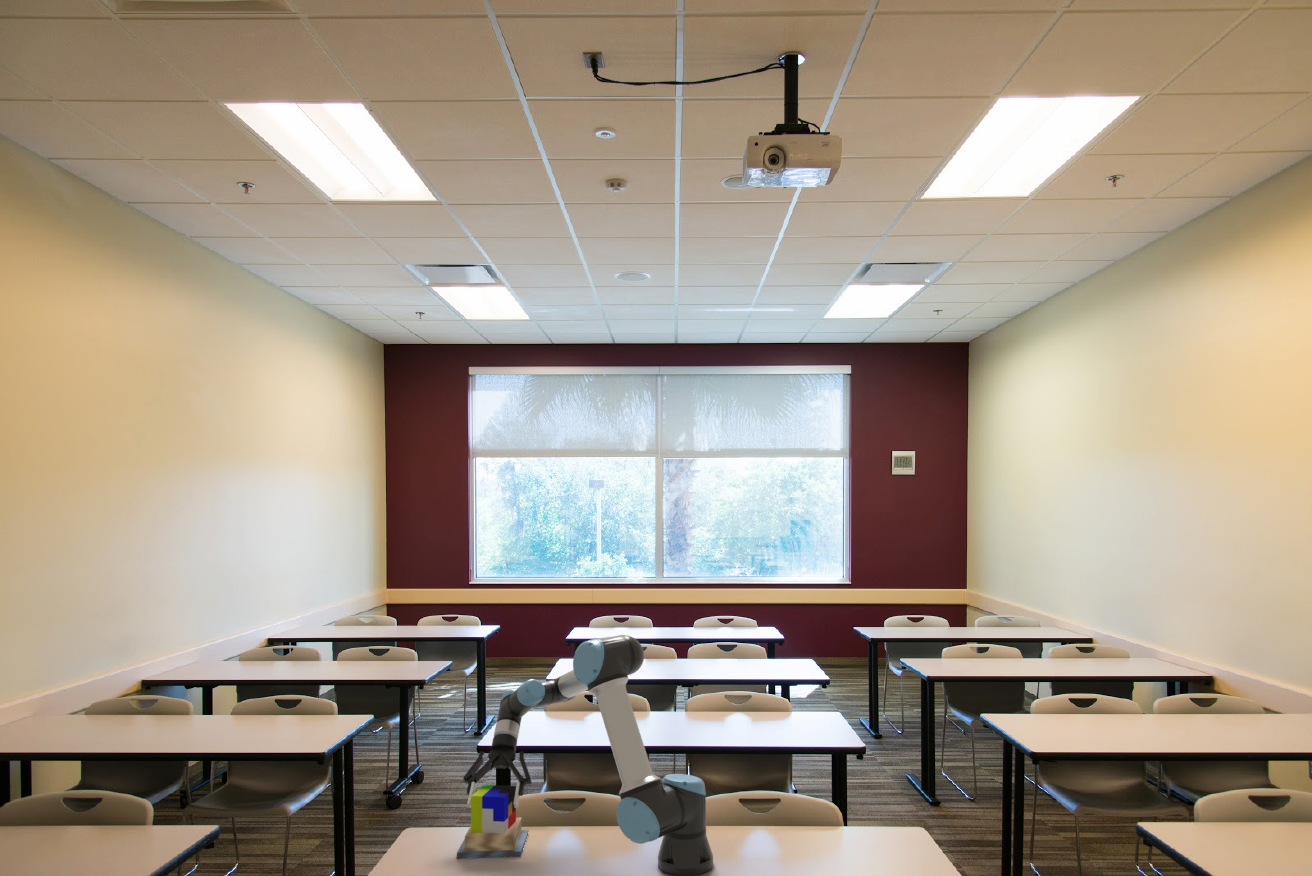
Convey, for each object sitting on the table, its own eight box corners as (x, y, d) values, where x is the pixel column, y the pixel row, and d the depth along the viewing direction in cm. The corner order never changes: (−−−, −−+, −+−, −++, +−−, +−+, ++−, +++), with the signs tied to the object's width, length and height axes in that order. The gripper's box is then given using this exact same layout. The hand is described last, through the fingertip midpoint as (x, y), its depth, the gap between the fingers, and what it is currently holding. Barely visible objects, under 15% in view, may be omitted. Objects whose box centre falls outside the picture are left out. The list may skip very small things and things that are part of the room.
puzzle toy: (504, 833, 228) (504, 797, 229) (470, 832, 230) (471, 796, 231) (515, 821, 238) (516, 786, 239) (483, 819, 240) (484, 784, 241)
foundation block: (528, 835, 242) (528, 816, 242) (520, 857, 226) (520, 836, 226) (468, 836, 241) (468, 817, 242) (456, 858, 225) (456, 838, 226)
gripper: (546, 745, 251) (536, 812, 235) (468, 745, 253) (453, 811, 236) (543, 732, 246) (532, 799, 230) (463, 732, 248) (447, 799, 231)
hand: (492, 806), depth 233 cm, fingers open, 13 cm apart
